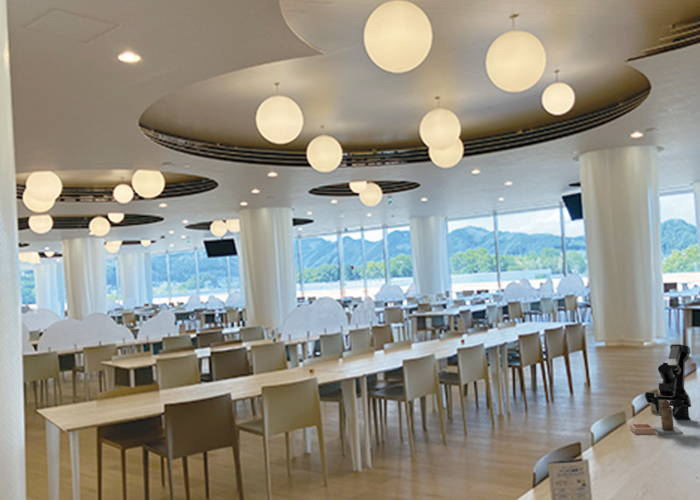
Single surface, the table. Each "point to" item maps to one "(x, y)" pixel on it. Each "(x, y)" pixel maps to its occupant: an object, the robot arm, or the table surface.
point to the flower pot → (654, 404)
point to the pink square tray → (642, 428)
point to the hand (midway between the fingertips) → (665, 413)
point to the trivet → (675, 431)
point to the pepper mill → (666, 416)
